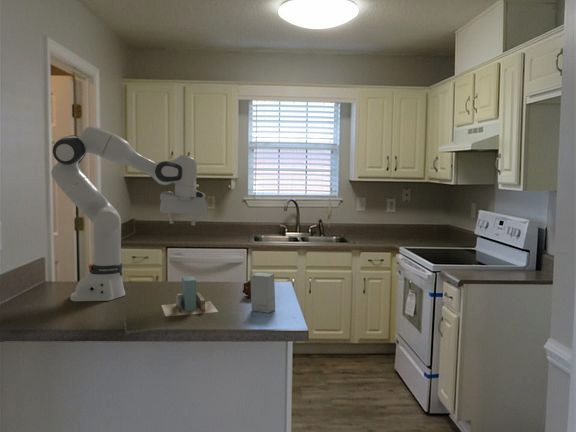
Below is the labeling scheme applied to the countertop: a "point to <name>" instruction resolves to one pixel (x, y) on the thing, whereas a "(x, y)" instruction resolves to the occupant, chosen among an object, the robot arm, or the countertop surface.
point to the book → (189, 293)
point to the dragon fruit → (247, 288)
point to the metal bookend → (178, 303)
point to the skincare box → (262, 292)
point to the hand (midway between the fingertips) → (182, 224)
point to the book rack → (200, 308)
